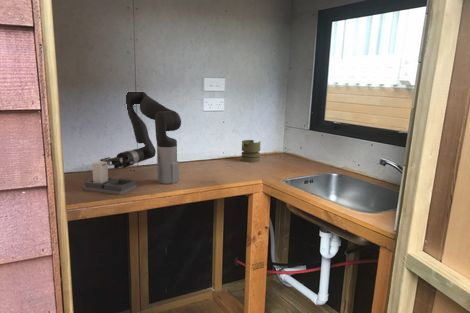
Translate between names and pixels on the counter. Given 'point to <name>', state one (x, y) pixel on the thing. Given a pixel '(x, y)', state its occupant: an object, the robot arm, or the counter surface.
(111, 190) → the grey flat tray
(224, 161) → the counter surface
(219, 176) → the counter surface
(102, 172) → the block
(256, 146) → the piston
